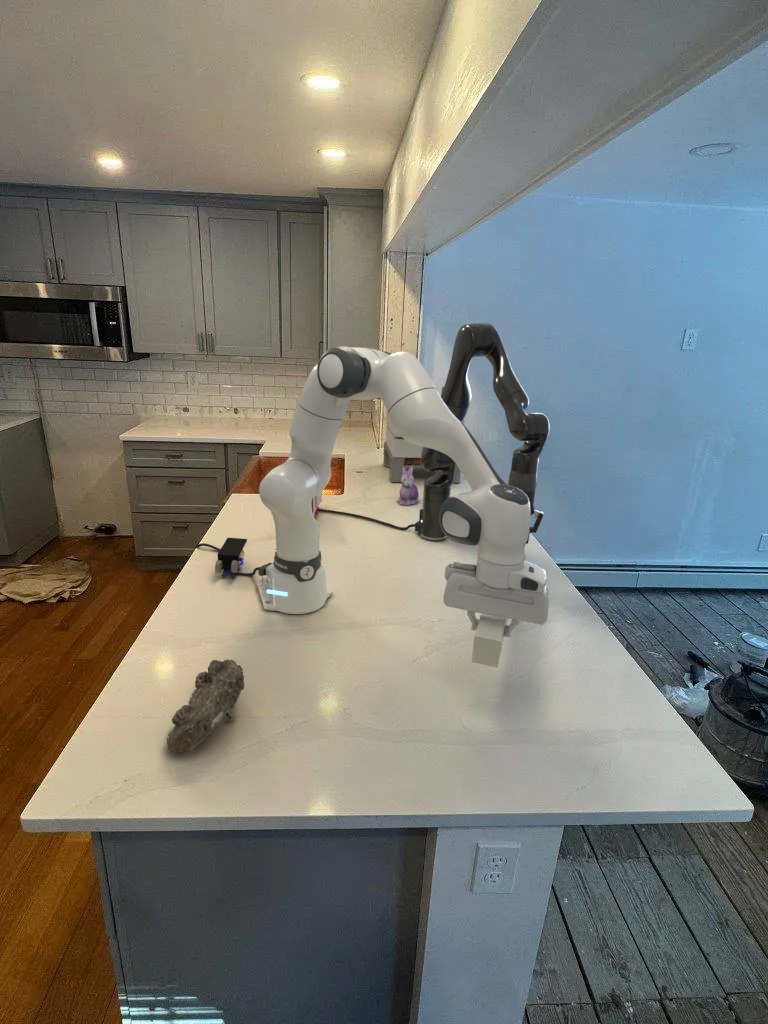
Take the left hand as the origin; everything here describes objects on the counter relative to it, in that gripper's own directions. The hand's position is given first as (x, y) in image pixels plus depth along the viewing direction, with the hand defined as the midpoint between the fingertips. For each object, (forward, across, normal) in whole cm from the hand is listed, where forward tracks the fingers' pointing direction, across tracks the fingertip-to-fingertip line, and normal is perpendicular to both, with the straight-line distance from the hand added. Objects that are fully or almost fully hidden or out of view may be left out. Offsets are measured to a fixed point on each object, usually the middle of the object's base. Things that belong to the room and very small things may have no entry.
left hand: (491, 632), depth 113 cm
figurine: (+16, -47, +113) cm, 124 cm away
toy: (+16, -78, +79) cm, 112 cm away
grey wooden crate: (+16, -54, +158) cm, 168 cm away
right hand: (+2, 0, +53) cm, 53 cm away
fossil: (+15, -48, -26) cm, 56 cm away
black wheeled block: (+15, -79, +31) cm, 86 cm away
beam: (+3, 0, +26) cm, 27 cm away
